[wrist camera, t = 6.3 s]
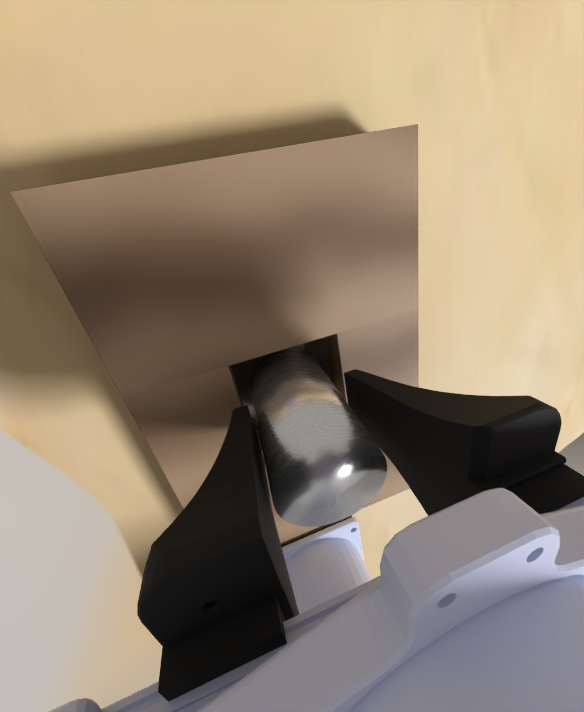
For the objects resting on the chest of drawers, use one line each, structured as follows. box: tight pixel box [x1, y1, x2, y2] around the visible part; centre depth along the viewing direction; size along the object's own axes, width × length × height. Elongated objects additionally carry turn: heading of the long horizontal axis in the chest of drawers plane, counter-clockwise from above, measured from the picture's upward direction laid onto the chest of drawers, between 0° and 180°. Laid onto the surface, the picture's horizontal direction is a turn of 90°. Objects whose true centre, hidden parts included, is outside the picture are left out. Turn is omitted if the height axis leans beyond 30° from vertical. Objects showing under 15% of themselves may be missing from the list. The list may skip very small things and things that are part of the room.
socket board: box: [10, 124, 418, 543], centre depth 15 cm, size 20×14×2 cm
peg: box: [249, 347, 387, 527], centre depth 12 cm, size 4×4×7 cm
